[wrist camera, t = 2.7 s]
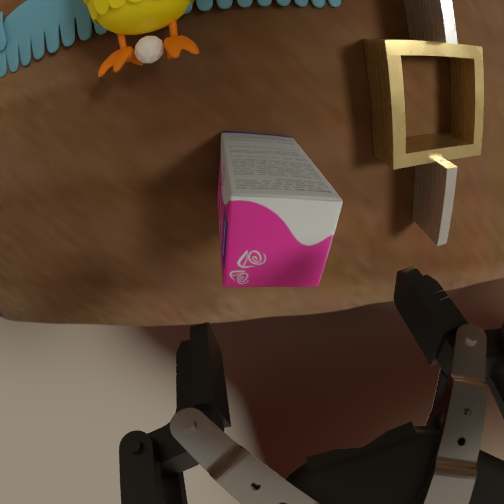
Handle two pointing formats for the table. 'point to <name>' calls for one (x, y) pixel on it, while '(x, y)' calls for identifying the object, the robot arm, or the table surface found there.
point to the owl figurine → (105, 27)
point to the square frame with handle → (393, 110)
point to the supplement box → (272, 212)
